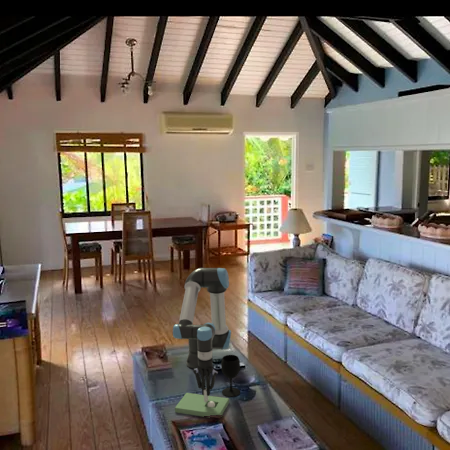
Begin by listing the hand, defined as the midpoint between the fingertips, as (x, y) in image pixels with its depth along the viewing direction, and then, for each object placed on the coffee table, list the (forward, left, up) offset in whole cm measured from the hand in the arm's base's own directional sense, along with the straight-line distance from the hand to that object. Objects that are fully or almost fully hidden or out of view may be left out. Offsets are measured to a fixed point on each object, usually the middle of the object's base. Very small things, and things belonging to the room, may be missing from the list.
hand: (206, 400), depth 245 cm
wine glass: (-19, +8, -4) cm, 21 cm away
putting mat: (0, -2, -4) cm, 4 cm away
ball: (+1, +3, -2) cm, 3 cm away
